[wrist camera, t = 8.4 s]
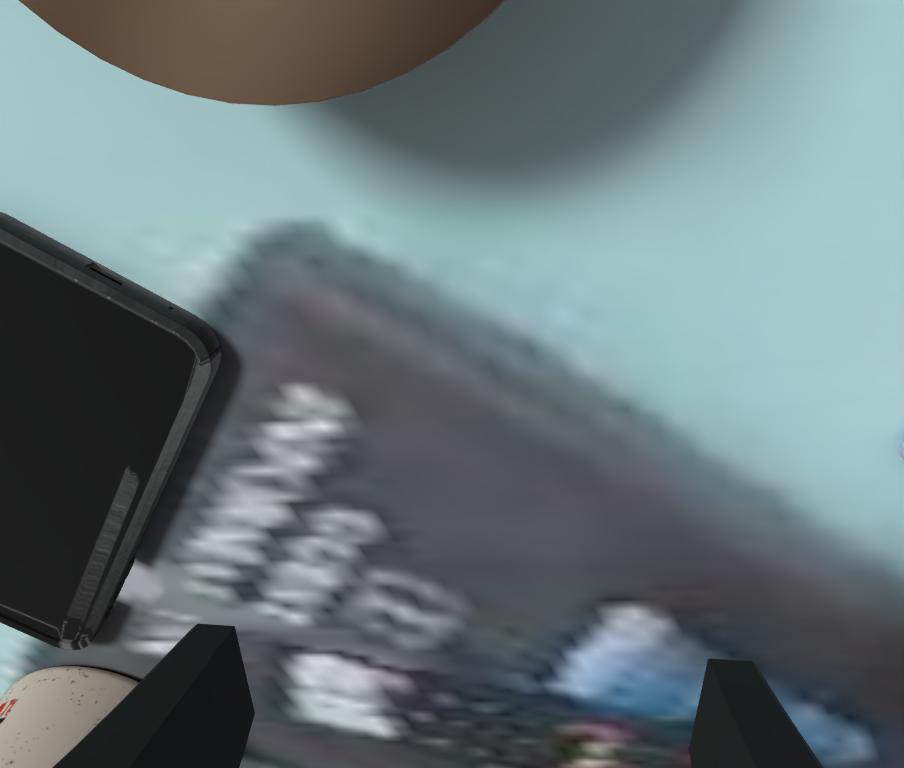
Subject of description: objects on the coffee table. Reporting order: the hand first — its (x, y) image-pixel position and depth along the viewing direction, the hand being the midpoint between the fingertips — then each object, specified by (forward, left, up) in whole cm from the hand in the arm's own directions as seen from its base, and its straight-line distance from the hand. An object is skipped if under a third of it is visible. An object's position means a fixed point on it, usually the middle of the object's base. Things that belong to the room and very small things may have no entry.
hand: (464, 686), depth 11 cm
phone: (+11, +10, -10) cm, 18 cm away
